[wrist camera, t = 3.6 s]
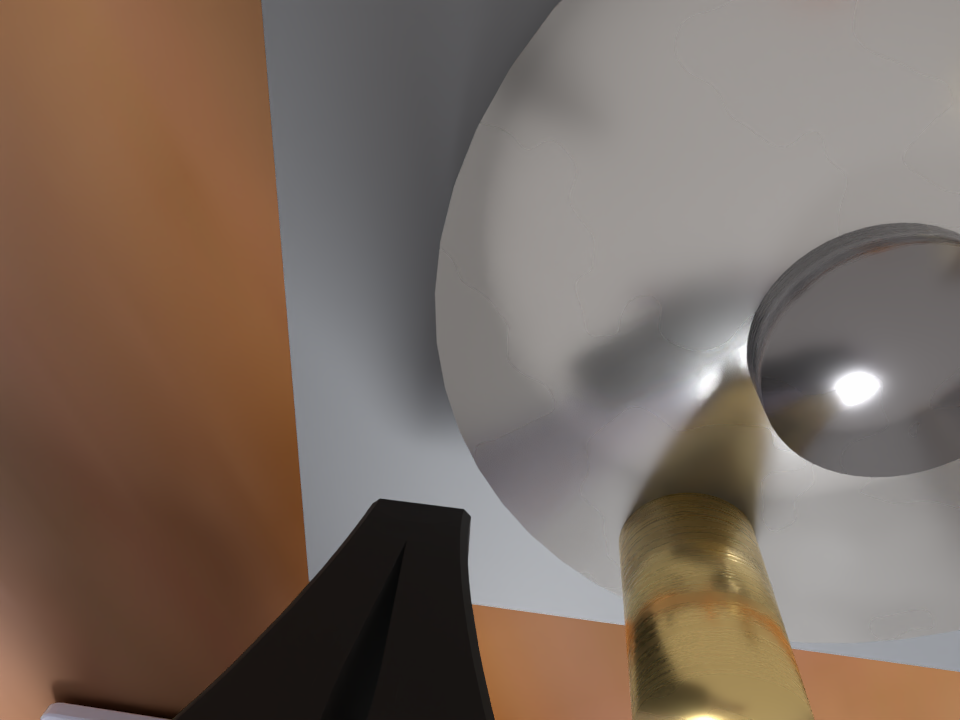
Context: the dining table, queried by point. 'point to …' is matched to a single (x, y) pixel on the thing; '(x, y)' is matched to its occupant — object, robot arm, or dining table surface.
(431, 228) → the jig board
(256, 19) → the dining table surface
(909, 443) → the flange plate
